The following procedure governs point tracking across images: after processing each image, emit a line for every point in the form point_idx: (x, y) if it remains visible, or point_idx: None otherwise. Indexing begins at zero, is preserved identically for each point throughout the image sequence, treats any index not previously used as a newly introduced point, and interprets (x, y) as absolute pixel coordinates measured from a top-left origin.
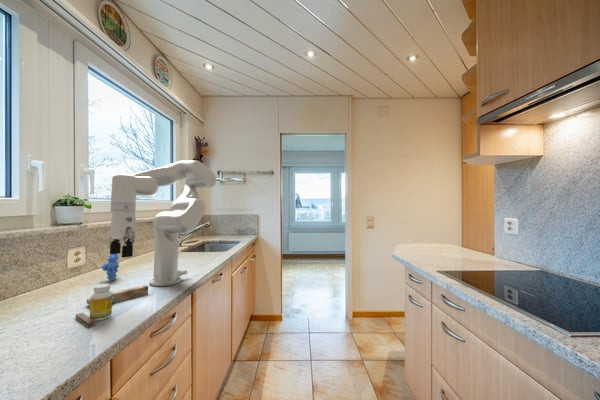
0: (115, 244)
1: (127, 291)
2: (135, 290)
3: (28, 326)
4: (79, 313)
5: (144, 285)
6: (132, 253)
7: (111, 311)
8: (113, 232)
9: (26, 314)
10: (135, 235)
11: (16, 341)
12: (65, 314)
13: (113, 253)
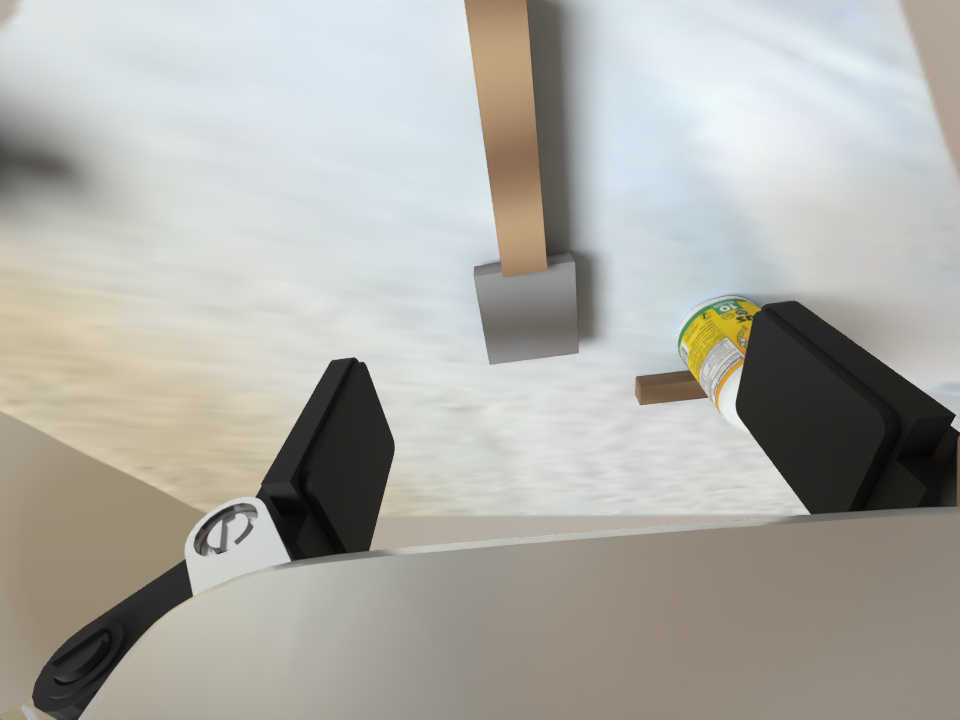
0: (344, 523)
1: (539, 176)
2: (534, 112)
3: (585, 483)
4: (641, 395)
5: (474, 2)
6: (821, 319)
7: (756, 306)
8: None
9: (450, 484)
10: None
11: (687, 501)
12: (552, 411)
13: (388, 428)
